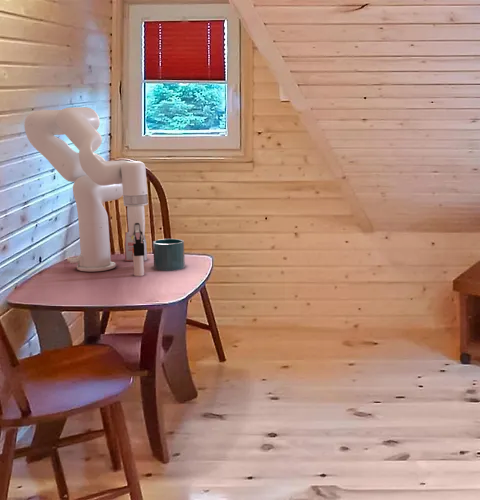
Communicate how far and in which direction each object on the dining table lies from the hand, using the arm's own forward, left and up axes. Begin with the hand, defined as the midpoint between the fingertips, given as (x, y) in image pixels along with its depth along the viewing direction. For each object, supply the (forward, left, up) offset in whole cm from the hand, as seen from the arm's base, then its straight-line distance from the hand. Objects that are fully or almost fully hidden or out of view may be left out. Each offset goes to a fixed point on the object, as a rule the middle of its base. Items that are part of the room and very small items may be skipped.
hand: (139, 252), depth 248 cm
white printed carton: (-1, +24, -8) cm, 26 cm away
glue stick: (0, 0, -7) cm, 7 cm away
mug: (+10, +11, -7) cm, 17 cm away
